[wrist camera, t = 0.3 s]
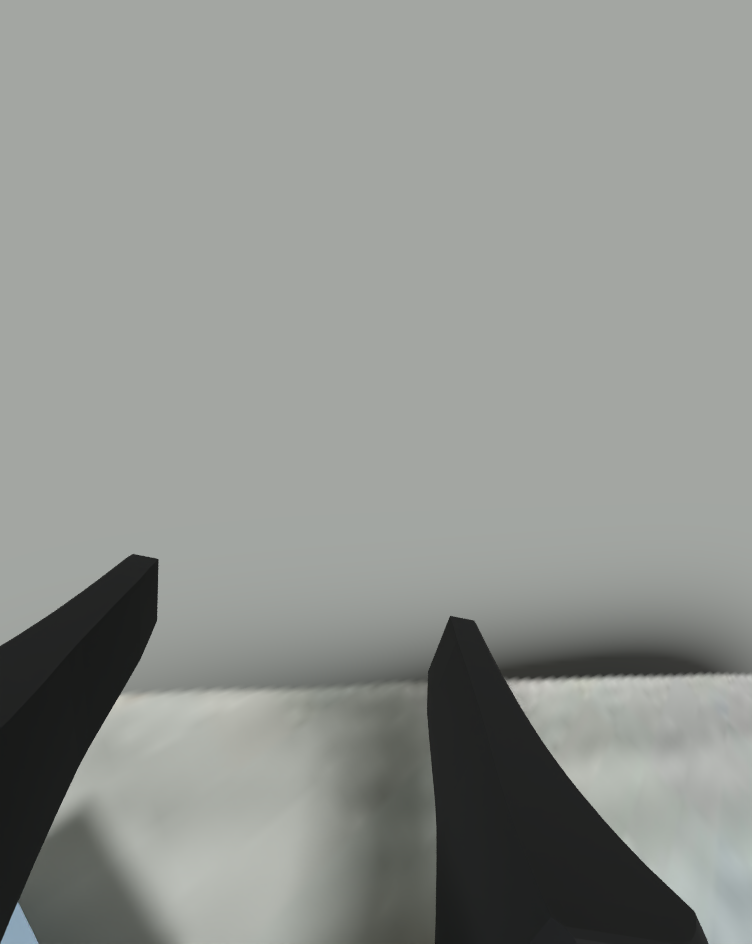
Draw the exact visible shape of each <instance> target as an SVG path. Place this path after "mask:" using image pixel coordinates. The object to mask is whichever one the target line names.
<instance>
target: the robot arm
mask: <svg viewBox="0 0 752 944" xmlns="http://www.w3.org/2000/svg"><path fill="white" fill-rule="evenodd" d="M157 594H158V559H156V558H150V557H145V556H140V555H135V554H132V555H131V556H129V557H127V558H126V559H125V560H123V561H122V562H121V563H119V564H118V565H117V566H115V567H114V568H113V569H112V570H110V571H109V572H108V573H106V574H105V575H104V576H102V577H101V578H100V579H98V580H97V581H96V582H95V583H93V584H92V585H90V586H89V587H88V588H87V589H85V590H84V591H82V592H81V593H80V594H78V595H77V596H75V597H74V598H73V599H71V600H70V601H68V602H67V603H66V604H64V605H63V606H61V607H60V608H59V609H57V610H56V611H54V612H53V613H51V614H50V615H48V616H47V617H46V618H44V619H42V620H41V621H39V622H38V623H36V624H35V625H33V626H31V627H30V628H29V629H27V630H25V631H24V632H22V633H21V634H19V635H18V636H16V637H14V638H13V639H11V640H9V641H8V642H6V643H5V644H3V645H1V646H0V944H1V941H2V939H3V936H4V934H5V931H6V929H7V926H8V924H9V922H10V919H11V917H12V914H13V912H14V910H15V907H16V905H17V903H18V900H19V898H20V896H21V893H22V891H23V889H24V886H25V884H26V882H27V879H28V877H29V875H30V872H31V870H32V868H33V865H34V863H35V861H36V858H37V856H38V854H39V852H40V849H41V847H42V845H43V843H44V841H45V838H46V836H47V834H48V832H49V829H50V827H51V825H52V823H53V821H54V818H55V816H56V814H57V812H58V810H59V807H60V805H61V803H62V801H63V799H64V797H65V795H66V792H67V790H68V788H69V786H70V784H71V782H72V780H73V778H74V775H75V773H76V771H77V769H78V767H79V765H80V763H81V761H82V759H83V758H84V756H85V754H86V752H87V750H88V748H89V746H90V745H91V743H92V741H93V740H94V738H95V736H96V734H97V733H98V731H99V729H100V728H101V726H102V724H103V723H104V721H105V719H106V717H107V716H108V714H109V712H110V711H111V709H112V707H113V705H114V704H115V702H116V700H117V699H118V697H119V695H120V694H121V692H122V690H123V688H124V687H125V685H126V683H127V682H128V680H129V678H130V676H131V675H132V673H133V671H134V669H135V668H136V666H137V664H138V662H139V661H140V659H141V656H142V654H143V652H144V650H145V647H146V645H147V643H148V640H149V638H150V636H151V634H152V631H153V629H154V626H155V624H156V622H157V600H158V598H157V596H158V595H157ZM427 716H428V728H429V740H430V751H431V762H432V773H433V784H434V795H435V806H436V825H437V875H436V930H435V944H708V941H707V938H706V936H705V934H704V932H703V929H702V927H701V925H700V923H699V921H698V918H697V916H696V914H695V912H694V911H693V910H692V909H691V908H690V907H689V906H688V905H687V904H686V903H685V902H684V901H683V900H682V899H681V898H680V897H679V896H678V895H677V894H676V893H675V892H673V891H672V890H671V889H670V888H669V887H668V886H667V885H666V884H665V883H664V882H663V881H662V880H661V879H660V878H659V877H658V876H657V875H656V874H655V873H654V872H652V871H651V870H650V869H649V868H648V867H647V866H646V865H645V864H644V863H643V862H642V861H641V860H640V859H639V857H638V856H637V855H636V854H635V853H634V852H633V851H632V850H631V849H630V848H629V847H628V846H627V845H626V844H625V843H624V842H623V841H622V840H621V839H620V838H619V836H618V835H617V834H616V833H615V832H614V831H613V830H612V829H611V828H610V826H609V825H608V824H607V823H606V822H605V821H604V820H603V819H602V817H601V816H600V815H599V814H598V813H597V812H596V810H595V809H594V808H593V807H592V806H591V804H590V803H589V802H588V801H587V800H586V799H585V797H584V796H583V795H582V794H581V793H580V791H579V790H578V789H577V788H576V786H575V785H574V784H573V783H572V781H571V780H570V779H569V778H568V776H567V775H566V774H565V772H564V771H563V770H562V768H561V767H560V766H559V764H558V763H557V761H556V760H555V759H554V757H553V756H552V755H551V753H550V752H549V750H548V749H547V748H546V746H545V745H544V743H543V742H542V740H541V739H540V737H539V736H538V734H537V733H536V731H535V729H534V728H533V726H532V725H531V723H530V722H529V720H528V718H527V717H526V715H525V714H524V712H523V710H522V709H521V707H520V705H519V704H518V702H517V700H516V698H515V697H514V695H513V693H512V691H511V690H510V688H509V686H508V684H507V683H506V681H505V679H504V677H503V675H502V674H501V672H500V670H499V668H498V666H497V664H496V662H495V660H494V658H493V657H492V655H491V653H490V651H489V649H488V647H487V645H486V643H485V641H484V639H483V637H482V635H481V633H480V631H479V629H478V627H477V625H476V623H475V622H474V621H473V620H468V619H463V618H458V617H453V616H450V618H449V620H448V623H447V625H446V628H445V630H444V633H443V636H442V638H441V640H440V643H439V645H438V648H437V651H436V653H435V656H434V658H433V661H432V663H431V666H430V668H429V671H428V696H427Z"/></svg>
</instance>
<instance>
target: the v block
mask: <svg viewBox="0 0 752 944" xmlns="http://www.w3.org/2000/svg"><path fill="white" fill-rule="evenodd" d="M1 944H39V943H38V941H37V939H36V937H35V935H34V933H33V931H32V929H31V927H30V925H29V923H28V921H27V919H26V917H25V915H24V913H23V911H22V909H21V907H20V905H19V903H17V905H16V907H15V910H14V912H13V914H12V917H11V919H10V922H9V924H8V926H7V929H6V931H5V934H4V936H3V939H2V941H1Z"/></svg>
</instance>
